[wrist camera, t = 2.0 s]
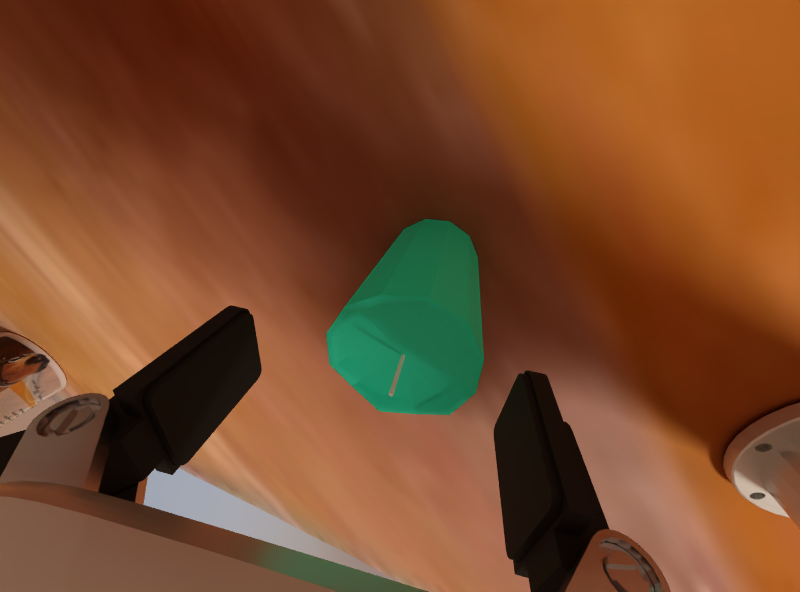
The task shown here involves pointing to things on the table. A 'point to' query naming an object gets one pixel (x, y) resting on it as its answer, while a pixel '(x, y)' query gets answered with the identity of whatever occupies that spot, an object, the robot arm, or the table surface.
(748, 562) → the table surface
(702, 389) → the table surface
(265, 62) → the table surface
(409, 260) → the candle
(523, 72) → the table surface
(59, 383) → the mug
